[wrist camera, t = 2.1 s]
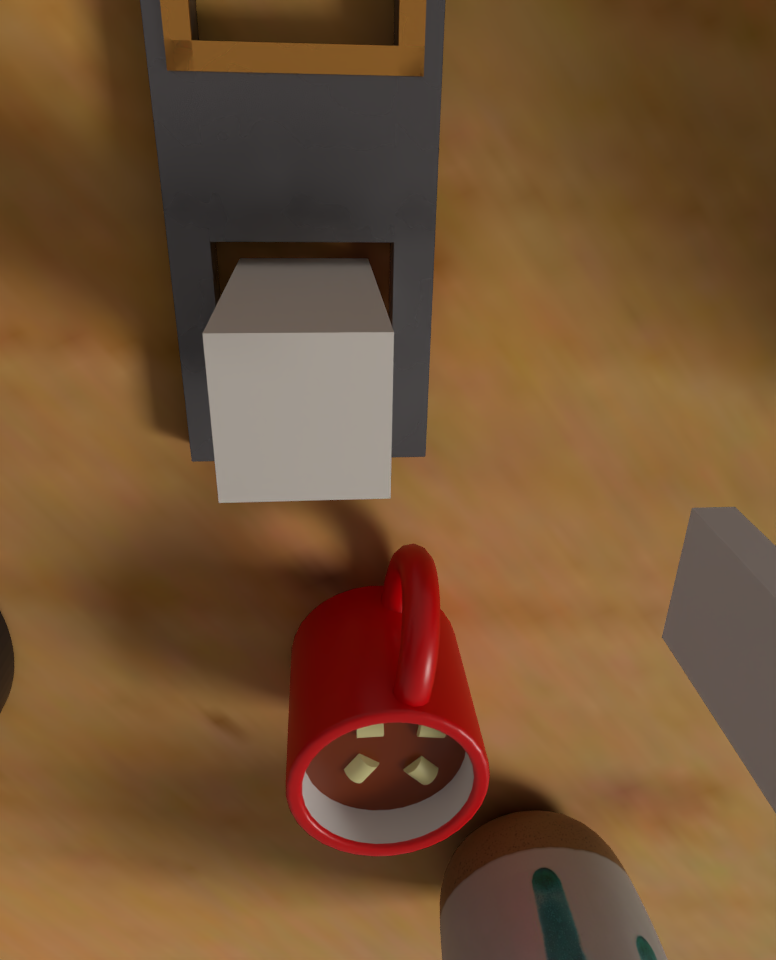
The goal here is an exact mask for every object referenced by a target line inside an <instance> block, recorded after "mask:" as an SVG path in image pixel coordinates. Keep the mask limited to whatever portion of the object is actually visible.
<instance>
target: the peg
mask: <svg viewBox="0 0 776 960" xmlns="http://www.w3.org/2000/svg"><path fill="white" fill-rule="evenodd" d="M202 334H203V345H204V355H205V365H206V376H207V386H208V396H209V407H210V417H211V427H212V438H213V448H214V458H215V469H216V479H217V489H218V500H219V503H235V502H272V501H310V500H348V499H386V498H391V451H392V403H393V356H394V331H393V328H392V325H391V322H390V319H389V317H388V314H387V311H386V308H385V305H384V302H383V300H382V297H381V294H380V291H379V288H378V285H377V283H376V280H375V277H374V274H373V271H372V269H371V266H370V263H369V260H368V258H240V259H239V261H238V263H237V265H236V267H235V269H234V271H233V273H232V275H231V277H230V279H229V281H228V283H227V285H226V287H225V289H224V291H223V293H222V295H221V297H220V299H219V301H218V303H217V305H216V307H215V309H214V311H213V313H212V315H211V317H210V319H209V321H208V323H207V325H206V327H205V329H204V331H203V333H202Z"/></svg>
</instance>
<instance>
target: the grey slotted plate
mask: <svg viewBox="0 0 776 960" xmlns="http://www.w3.org/2000/svg"><path fill="white" fill-rule="evenodd" d="M140 4H141V12H142V21H143V30H144V39H145V48H146V57H147V66H148V75H149V84H150V93H151V102H152V110H153V119H154V128H155V137H156V146H157V155H158V164H159V173H160V182H161V191H162V200H163V208H164V217H165V226H166V235H167V244H168V253H169V262H170V271H171V280H172V289H173V298H174V307H175V315H176V324H177V333H178V342H179V351H180V360H181V369H182V378H183V387H184V396H185V405H186V413H187V422H188V431H189V440H190V449H191V458H192V461H215V458H214V448H213V438H212V427H211V417H210V407H209V396H208V386H207V376H206V365H205V355H204V345H203V334H202V333H203V331H204V329H205V327H206V325H207V323H208V321H209V319H210V317H211V315H212V313H213V311H214V309H215V307H216V305H217V303H218V301H219V299H220V285H219V273H218V261H217V249H216V242H390V276H389V319H390V322H391V325H392V328H393V331H394V356H393V403H392V451H391V457H425V453H426V430H427V407H428V384H429V361H430V339H431V316H432V293H433V270H434V247H435V224H436V201H437V178H438V156H439V133H440V110H441V87H442V64H443V41H444V18H445V0H394V46H386V45H348V44H311V43H273V42H235V41H199V35H198V23H197V11H196V0H140Z"/></svg>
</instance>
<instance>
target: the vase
mask: <svg viewBox="0 0 776 960" xmlns="http://www.w3.org/2000/svg"><path fill="white" fill-rule="evenodd" d="M440 934H441V949H442V960H668V959H667V957H666V955H665V952H664V950H663V947H662V945H661V943H660V940H659V938H658V936H657V934H656V931H655V929H654V927H653V925H652V922H651V920H650V918H649V916H648V914H647V912H646V910H645V908H644V906H643V904H642V901H641V899H640V897H639V895H638V893H637V891H636V890H635V888H634V886H633V884H632V882H631V880H630V878H629V876H628V875H627V873H626V871H625V869H624V868H623V866H622V864H621V863H620V861H619V860H618V858H617V856H616V855H615V854H614V852H613V851H612V850H611V848H610V847H609V846H608V845H607V844H606V843H605V842H604V841H603V839H602V838H600V837H599V836H598V835H597V834H596V833H595V832H594V831H593V830H591V829H590V828H589V827H587V826H586V825H584V824H583V823H581V822H579V821H577V820H575V819H573V818H570V817H568V816H566V815H563V814H559V813H556V812H549V811H521V812H516V813H511V814H507V815H504V816H501V817H498V818H496V819H494V820H491V821H489V822H487V823H486V824H484V825H482V826H481V827H479V828H477V829H476V830H475V831H473V832H472V833H471V834H470V835H469V836H468V837H467V838H466V839H465V840H464V841H463V842H462V843H461V844H460V846H459V847H458V849H457V850H456V851H455V853H454V854H453V856H452V858H451V860H450V862H449V865H448V867H447V869H446V872H445V875H444V879H443V884H442V888H441V895H440Z"/></svg>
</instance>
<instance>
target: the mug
mask: <svg viewBox="0 0 776 960" xmlns="http://www.w3.org/2000/svg"><path fill="white" fill-rule="evenodd" d="M489 778H490V772H489V762H488V758H487V754H486V751H485V747H484V743H483V739H482V735H481V732H480V728H479V724H478V720H477V716H476V713H475V709H474V705H473V701H472V697H471V694H470V690H469V686H468V682H467V678H466V675H465V671H464V667H463V663H462V660H461V656H460V652H459V648H458V644H457V641H456V637H455V633H454V631H453V628H452V626H451V623H450V621H449V620H448V618H447V617H446V616H445V614H444V613H443V611H442V610H441V609H440V596H439V584H438V576H437V571H436V567H435V563H434V561H433V559H432V557H431V556H430V554H429V553H428V552H427V551H426V549H425V548H423V547H421V546H418V545H416V544H409V545H404V546H402V547H401V548H400V549H398V550H397V551H396V552H395V553H394V554H393V556H392V558H391V560H390V563H389V566H388V569H387V573H386V576H385V580H384V585H383V586H367V587H361V588H355V589H351V590H348V591H345V592H343V593H340V594H337V595H335V596H333V597H331V598H330V599H328V600H326V601H324V602H323V603H321V604H320V605H319V606H318V607H316V608H315V609H314V610H313V611H311V612H310V614H309V615H308V616H307V617H306V618H305V620H304V621H303V622H302V623H301V625H300V627H299V629H298V631H297V633H296V635H295V637H294V641H293V645H292V652H291V674H290V696H289V719H288V741H287V763H286V798H287V802H288V805H289V809H290V811H291V813H292V815H293V816H294V818H295V820H296V821H297V823H298V824H299V825H300V826H301V827H302V828H303V829H304V830H305V831H306V832H307V833H308V834H309V835H310V836H312V837H313V838H315V839H316V840H318V841H319V842H321V843H322V844H325V845H327V846H330V847H332V848H334V849H337V850H339V851H343V852H348V853H352V854H355V855H366V856H393V855H399V854H405V853H411V852H414V851H417V850H421V849H424V848H427V847H430V846H432V845H434V844H436V843H438V842H440V841H443V840H445V839H446V838H448V837H449V836H451V835H452V834H454V833H455V832H457V831H458V830H460V829H461V828H462V827H463V826H464V825H465V824H466V823H467V822H468V821H469V820H471V819H472V817H473V816H474V815H475V813H476V812H477V810H478V809H479V808H480V806H481V805H482V803H483V800H484V798H485V796H486V793H487V790H488V784H489Z"/></svg>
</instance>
